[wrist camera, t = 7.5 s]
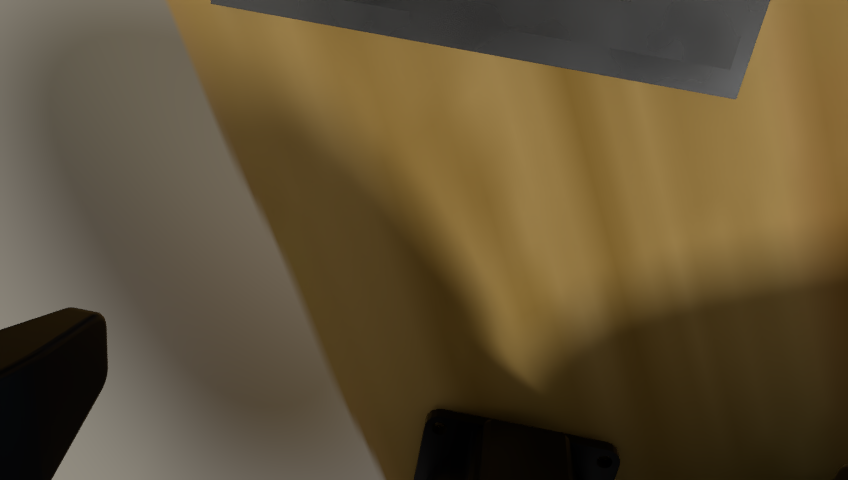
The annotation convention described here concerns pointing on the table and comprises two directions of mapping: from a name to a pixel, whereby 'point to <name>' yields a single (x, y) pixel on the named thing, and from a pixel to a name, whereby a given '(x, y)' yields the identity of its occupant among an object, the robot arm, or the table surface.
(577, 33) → the jack stand base
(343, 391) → the table surface
